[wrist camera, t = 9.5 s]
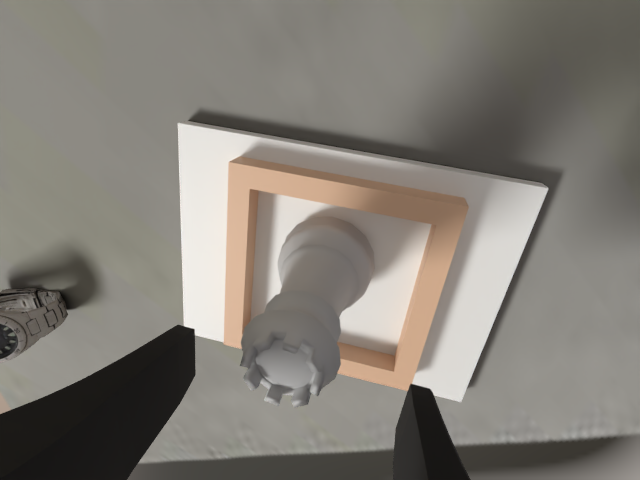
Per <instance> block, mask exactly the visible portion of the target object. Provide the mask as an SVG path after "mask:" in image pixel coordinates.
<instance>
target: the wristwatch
mask: <svg viewBox="0 0 640 480" xmlns="http://www.w3.org/2000/svg"><path fill="white" fill-rule="evenodd" d="M67 316H68V313H67V311H66V304H65V302H64V300H63V298H62V297H61V295H60V292H59V291H45V290H39V289H33V288H25V289H6V290H2V291H1V293H0V363H1V362H5V361H8V360H11V359H13V358H15V357H17V356H18V355H20V354H21V353H23V352H24V351H26V350H27V349H28V348H29V347H31V346H32V345H33V344H34V343H36V342H37V341H38V340H39V339H40V338H42V337H44V336H46V335H47V334H49V333H50V332H51V331H53V330H54V329H56V328H57V327H58V326H60V325H61V324H62V323H63V322H64V320H65V318H66V317H67Z"/></svg>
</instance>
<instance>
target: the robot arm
mask: <svg viewBox="0 0 640 480" xmlns="http://www.w3.org/2000/svg"><path fill="white" fill-rule="evenodd" d="M194 376H195V329H193V328H189V327H185V326H181V325H177V326H175V327H173V328H172V329H170V330H168V331H167V332H165V333H163V334H162V335H160V336H158V337H157V338H155V339H153V340H152V341H150V342H148V343H147V344H145V345H143V346H142V347H140V348H138V349H137V350H135V351H133V352H131V353H130V354H128V355H126V356H125V357H123V358H121V359H119V360H118V361H116V362H114V363H112V364H110V365H108V366H107V367H105V368H103V369H101V370H99V371H97V372H95V373H93V374H92V375H90V376H88V377H86V378H84V379H82V380H80V381H78V382H76V383H74V384H72V385H70V386H67V387H65V388H63V389H61V390H59V391H56V392H54V393H52V394H50V395H47V396H45V397H43V398H40V399H38V400H36V401H33V402H30V403H28V404H25V405H23V406H20V407H18V408H15V409H12V410H10V411H8V412H5V413H2V414H0V480H127V479H128V477H129V476H130V474H131V472H132V471H133V469H134V468H135V466H136V465H137V463H138V462H139V461H140V459H141V458H142V456H143V455H144V454H145V452H146V451H147V449H148V448H149V447H150V445H151V444H152V442H153V441H154V439H155V438H156V437H157V435H158V434H159V432H160V431H161V430H162V428H163V427H164V425H165V424H166V423H167V421H168V420H169V418H170V417H171V415H172V414H173V412H174V411H175V410H176V408H177V407H178V405H179V404H180V402H181V400H182V399H183V397H184V395H185V393H186V391H187V390H188V388H189V386H190V384H191V382H192V380H193V378H194ZM393 473H394V474H393V477H394V478H393V479H394V480H470V478H469V476H468V474H467V472H466V470H465V468H464V466H463V464H462V462H461V460H460V458H459V456H458V453H457V451H456V449H455V447H454V444H453V442H452V440H451V438H450V435H449V433H448V431H447V428H446V426H445V424H444V421H443V419H442V416H441V414H440V411H439V408H438V406H437V403H436V400H435V398H434V395H433V392H432V391H431V389H430V388H426V387H422V386H418V385H414V384H410V386H409V389H408V392H407V395H406V399H405V402H404V405H403V408H402V411H401V414H400V417H399V420H398V424H397V427H396V433H395V445H394V458H393Z"/></svg>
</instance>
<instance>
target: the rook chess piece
mask: <svg viewBox="0 0 640 480" xmlns="http://www.w3.org/2000/svg"><path fill="white" fill-rule="evenodd" d="M374 269H375V266H374V251H373V249H372V247H371V245H370V243H369V241H368V240H367V238H366V236H365V235H364V234H363V233H362V232H361V231H359V230H358V229H357V228H356V227H355V226H354V225H353V224H351V223H349V222H346V221H344V220H341V219H338V218H335V217H313V218H310V219H308V220H306V221H304V222H301V223H299V224H297V225H296V226H295V228H294V229H293V230H292V231H291V232H290V233H289V234H288V235H287V237H286V240H285V243H284V244H283V245H282V248H281V251H280V255H279V258H278V271H279V277H280V281H281V285H282V288H281V291H280V293H279V294H278V295H275V296H274V297H273V298H272V299H271V300H270V301H269V302H268V303H267V305H266V308H265V311H264V313H262V314H260V315H257V316H255V317H254V318H253V319H252V320H251V321H250V322H249V323H248V324H247V325H246V326H245V328H244V331H243V335H242V339H241V346H242V351H243V357H242V361H241V364H240V366H242V367H247V368H248V370H247V372H246V374H245V376H244V378H243V380H244V381H245V382H246V384H247V385H248V387H249V388H250V390H251V391H252V390H254V389H256V388H257V387H258V386H259V384H260V383H261V384H263V385H264V386H265V387H267V388H268V391H267V394H266V396H265V398H264V401H267V402H269V403H272V404H275V405H277V406H279V404H280V401H281V399H282V396H283V395H292V399H291V401H292V404H293V406H294V407H299V406H303V405H307V404H308V402H309V399H310V395H311V393H313V394H315V395H316V396H318V395H319V393H320V391H321V389H322V388H323V387H325V386H326V385H327V384H329V383H330V382H331V381H332V380H334V379H335V377H336V375H337V372H338V370H339V368H340V365H341V360H340V350H339V346H338V345H337V341H338V339H339V336H340V334H341V328H340V319H339V317H340V315H341V313H342V311H344V310H345V309H346V308H349V307H351V306H352V305H353V304H354V303H356V302H357V301H358V300H359V299H360V298H361V297H362V296H363V295H364V294H365V292H366V290H367V288H368V285H369V283H370V281H371V278H372V274H373V272H374Z"/></svg>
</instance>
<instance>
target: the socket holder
mask: <svg viewBox="0 0 640 480" xmlns="http://www.w3.org/2000/svg"><path fill="white" fill-rule="evenodd" d="M178 143H179V176H180V209H181V242H182V275H183V308H184V326H185V327H189V328H193V329H195V335H197V336H201V337H205V338H209V339H213V340H217V341H221V342H224V345H228V346H232V347H236V348H240V349H242V346H241V339H242V335H243V331H244V328H245V326H246V325H247V324H248V323H249V322H250V321H251V320H252V319H253V318H254V317H255V316H257V315H260V314H262V313H264V311H265V308H266V305H267V303H268V302H269V301H270V300H271V299H272V298H273V297H274V296H275V295H278V294H279V293H280V291H281V288H282V285H281V281H280V277H279V271H278V258H279V255H280V251H281V248H282V245H283V244H284V243H285V240H286V237H287V235H288V234H289V233H290V232H291V231H292V230H293V229H294V228H295V226H296V225H297V224H299V223H301V222H304V221H306V220H308V219H310V218H313V217H335V218H338V219H341V220H344V221H346V222H349V223H351V224H353V225H354V226H355V227H356V228H357V229H358V230H359V231H361V232H362V233H363V234H364V235H365V236H366V238H367V240H368V241H369V243H370V245H371V247H372V249H373V251H374V266H375V269H374V272H373V274H372V278H371V281H370V283H369V285H368V288H367V290H366V292H365V294H364V295H363V296H362V297H361V298H360V299H359V300H358V301H357V302H356V303H354V304H353V305H352V306H351V307H349V308H346V309H345V310H344V311H342V313H341V315H340V317H339V319H340V328H341V334H340V336H339V339H338V341H337V345H338V346H339V350H340V360H341V365H340V368H339V370H338V372H337V373H338V374H342V375H346V376H350V377H354V378H358V379H362V380H366V381H370V382H374V383H378V384H382V385H386V386H390V387H394V388H398V389H402V390H406V391H408V389H409V386H410V384H414V385H418V386H422V387H426V388H430V389H431V391H432V392H433V395H435V396H439V397H443V398H447V399H450V400H454V401H458V402H461V401H462V398H463V396H464V394H465V391H466V389H467V386H468V384H469V381H470V379H471V377H472V374H473V372H474V369H475V367H476V364H477V362H478V359H479V357H480V355H481V352H482V350H483V347H484V345H485V342H486V340H487V338H488V335H489V333H490V330H491V328H492V325H493V323H494V320H495V318H496V316H497V313H498V311H499V308H500V306H501V303H502V301H503V299H504V296H505V294H506V291H507V289H508V286H509V284H510V281H511V279H512V277H513V274H514V272H515V269H516V267H517V264H518V262H519V260H520V257H521V255H522V252H523V250H524V247H525V245H526V242H527V240H528V238H529V235H530V233H531V230H532V228H533V225H534V223H535V220H536V218H537V216H538V213H539V211H540V208H541V206H542V203H543V201H544V199H545V196H546V194H547V191H548V189H549V188H548V187H546V186H545V185H544V184H543V183H539V182H533V181H528V180H522V179H516V178H510V177H505V176H499V175H493V174H488V173H482V172H476V171H471V170H465V169H459V168H453V167H448V166H442V165H436V164H431V163H425V162H419V161H413V160H408V159H402V158H396V157H391V156H385V155H379V154H373V153H368V152H362V151H356V150H351V149H345V148H339V147H333V146H328V145H322V144H316V143H311V142H305V141H299V140H293V139H288V138H282V137H276V136H271V135H265V134H259V133H253V132H248V131H242V130H236V129H231V128H225V127H219V126H213V125H208V124H202V123H196V122H191V121H184V122H180V123H178Z"/></svg>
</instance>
